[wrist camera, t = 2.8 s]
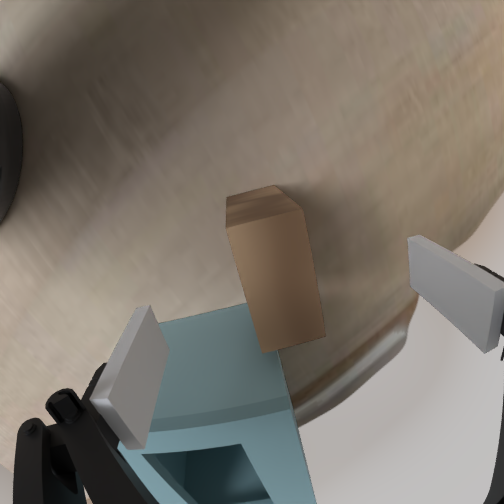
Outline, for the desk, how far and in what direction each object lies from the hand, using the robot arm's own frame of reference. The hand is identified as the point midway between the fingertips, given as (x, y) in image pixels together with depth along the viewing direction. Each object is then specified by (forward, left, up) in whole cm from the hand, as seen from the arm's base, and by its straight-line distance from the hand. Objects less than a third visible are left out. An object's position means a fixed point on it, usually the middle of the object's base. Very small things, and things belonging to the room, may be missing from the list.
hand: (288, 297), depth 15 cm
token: (0, 0, -9) cm, 9 cm away
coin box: (-7, -12, -9) cm, 17 cm away
